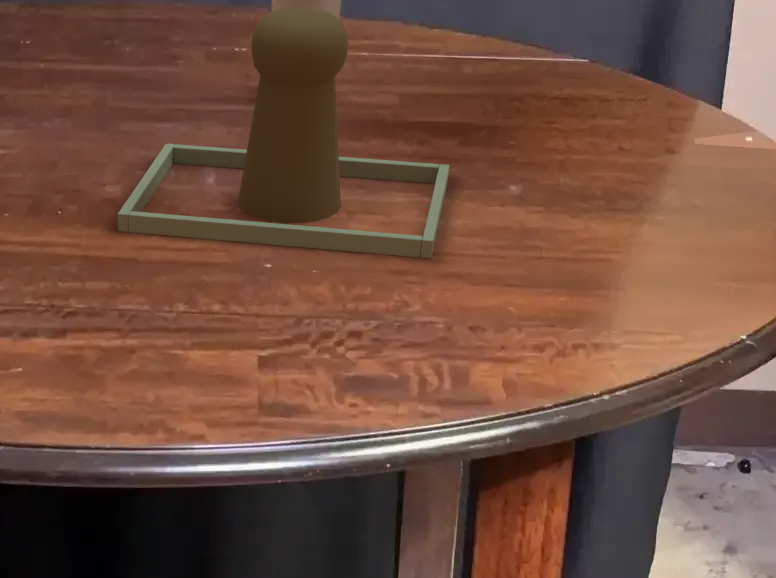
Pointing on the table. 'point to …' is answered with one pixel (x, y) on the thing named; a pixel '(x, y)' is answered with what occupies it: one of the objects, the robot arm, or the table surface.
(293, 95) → the cork
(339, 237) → the sage frame
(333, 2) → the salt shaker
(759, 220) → the table surface
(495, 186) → the table surface
